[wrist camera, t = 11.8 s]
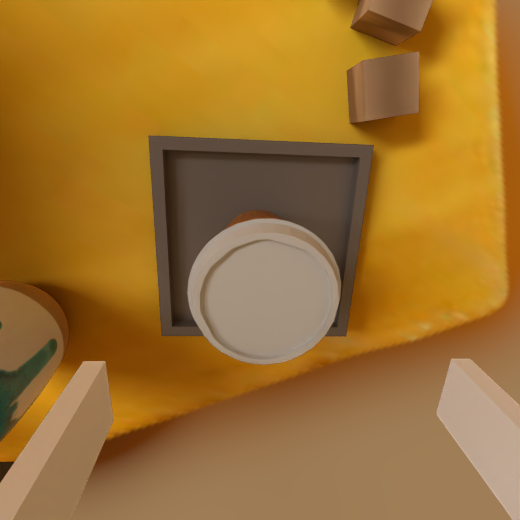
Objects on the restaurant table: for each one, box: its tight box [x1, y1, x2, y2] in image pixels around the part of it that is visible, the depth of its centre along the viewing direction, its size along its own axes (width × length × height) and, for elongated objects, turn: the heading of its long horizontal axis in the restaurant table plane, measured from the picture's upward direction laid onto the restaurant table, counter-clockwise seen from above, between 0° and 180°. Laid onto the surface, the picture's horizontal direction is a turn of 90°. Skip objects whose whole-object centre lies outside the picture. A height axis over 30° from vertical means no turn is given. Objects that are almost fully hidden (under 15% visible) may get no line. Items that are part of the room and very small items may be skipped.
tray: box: [149, 136, 374, 336], centre depth 31 cm, size 18×18×2 cm
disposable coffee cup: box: [187, 210, 341, 365], centre depth 25 cm, size 10×10×12 cm
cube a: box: [347, 52, 419, 123], centre depth 26 cm, size 4×4×4 cm
